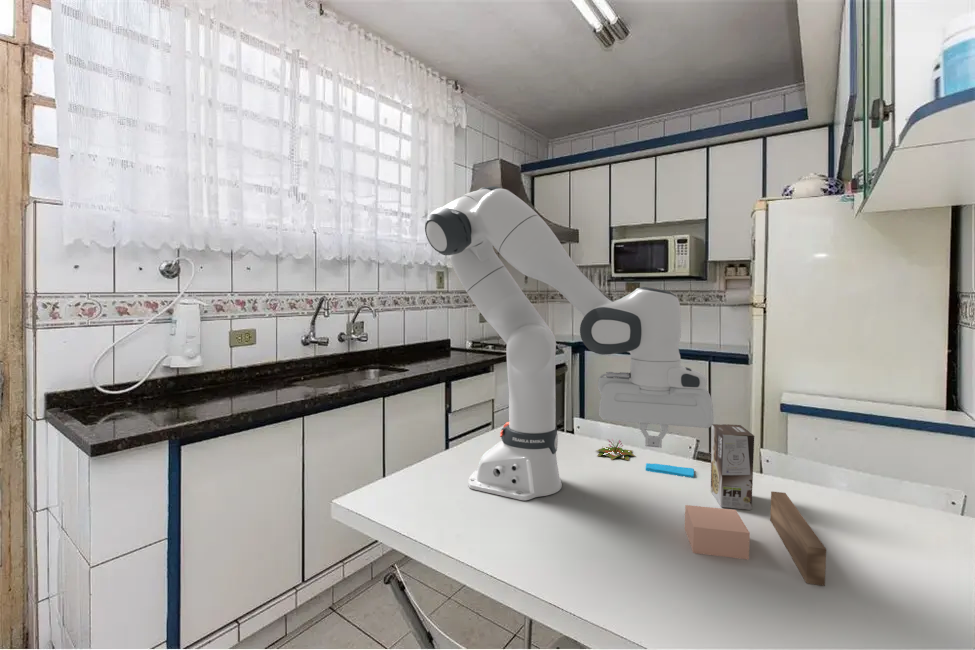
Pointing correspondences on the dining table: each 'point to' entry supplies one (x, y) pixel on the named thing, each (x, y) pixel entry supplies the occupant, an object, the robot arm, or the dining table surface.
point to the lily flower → (615, 451)
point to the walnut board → (798, 539)
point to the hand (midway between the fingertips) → (653, 446)
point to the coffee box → (732, 466)
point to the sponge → (670, 470)
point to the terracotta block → (716, 532)
